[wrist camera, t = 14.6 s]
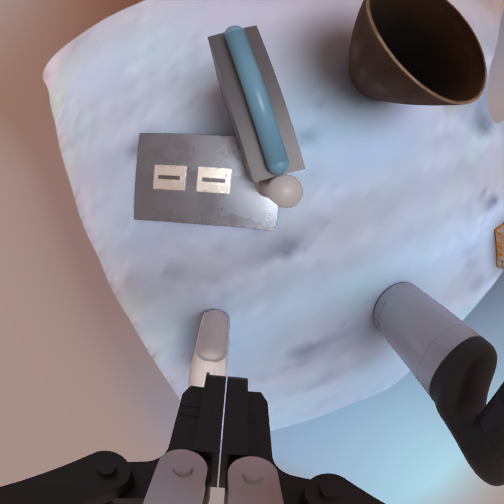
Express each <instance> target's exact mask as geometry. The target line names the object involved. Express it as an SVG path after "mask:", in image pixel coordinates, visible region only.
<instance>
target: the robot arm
mask: <svg viewBox="0 0 504 504" xmlns="http://www.w3.org/2000/svg"><path fill="white" fill-rule="evenodd" d="M373 316H374V323H375V326H376V328H377V329H378V330H379V331H380V333H381V334H382V335H383V336H384V338H385V339H386V340H387V342H388V343H389V344H390V345H391V347H392V348H393V349H394V350H395V352H396V353H397V354H398V355H399V357H400V358H401V359H402V360H403V362H404V363H405V364H406V365H407V367H408V368H409V369H410V371H411V372H412V373H413V374H414V376H415V377H416V378H417V380H418V381H419V382H420V383H421V385H422V386H423V387H424V389H425V390H426V391H427V393H428V394H429V395H430V396H431V398H432V400H433V401H434V402H435V404H436V408H437V411H438V413H439V414H440V416H441V418H442V419H443V421H444V422H445V424H446V425H447V427H448V428H449V430H450V432H451V433H452V435H453V437H454V439H455V440H456V442H457V444H458V446H459V448H460V449H461V451H462V453H463V455H464V456H465V458H466V460H467V462H468V463H469V465H470V466H471V468H472V469H473V470H474V472H475V473H476V474H477V475H478V476H479V477H480V478H481V479H482V480H483V481H484V482H486V483H488V484H490V485H494V486H501V485H504V382H503V384H502V385H501V386H500V388H499V389H498V391H497V392H496V393H495V395H494V396H493V397H492V399H491V400H490V401H489V402H488V404H487V405H486V400H487V395H488V391H489V387H490V384H491V381H492V378H493V375H494V372H495V369H496V365H497V354H496V351H495V349H494V347H493V346H492V345H491V344H490V343H489V342H488V341H487V340H485V339H484V338H483V337H482V336H480V335H479V334H478V333H477V332H476V331H474V330H473V329H471V327H469V326H468V325H466V324H465V323H464V322H463V321H461V320H460V319H459V318H458V317H456V316H455V315H454V314H453V313H451V312H450V311H449V310H448V309H446V308H445V307H444V306H442V305H441V304H440V303H438V302H437V301H436V300H434V299H433V298H432V297H430V296H429V295H427V294H426V293H425V292H423V291H422V290H420V289H419V288H418V287H416V286H415V285H413V284H411V283H408V282H402V283H398V284H395V285H393V286H392V287H390V288H388V289H387V290H386V291H385V292H384V293H383V294H382V296H381V297H380V298H379V300H378V302H377V304H376V306H375V309H374V314H373ZM225 383H226V376H219V375H210V374H206V379H205V384H204V387H198V386H190V387H189V388H188V389H187V390H186V391H185V392H184V393H183V395H182V398H181V402H180V407H179V410H178V415H177V417H176V421H175V425H174V429H173V433H172V437H171V441H170V444H169V448H168V450H167V451H166V453H165V454H164V455H163V456H162V457H160V458H158V459H156V460H153V461H148V462H127V461H126V459H124V458H123V457H122V456H121V455H119V454H117V453H114V452H111V451H99V452H96V453H93V454H91V455H88V456H86V457H84V458H82V459H79V460H77V461H74V462H72V463H69V464H67V465H65V466H62V467H59V468H57V469H54V470H51V471H49V472H46V473H43V474H40V475H37V476H34V477H31V478H29V479H25V480H22V481H19V482H16V483H12V484H9V485H5V486H2V487H0V504H208V502H209V498H210V487H217V478H218V464H219V453H220V441H221V430H222V418H223V407H224V395H225ZM270 438H271V437H270V426H269V415H268V403H267V401H266V399H265V398H264V396H263V395H262V393H261V392H248V379H247V378H240V377H229V376H228V380H227V391H226V403H225V414H224V426H223V439H222V452H221V465H220V479H219V487H222V488H225V497H224V504H385V503H383V502H381V501H380V500H378V499H376V498H374V497H373V496H371V495H370V494H368V493H366V492H365V491H363V490H362V489H360V488H358V487H357V486H355V485H353V484H352V483H351V482H349V481H348V480H346V479H345V478H343V477H341V476H339V475H336V474H321V475H318V476H315V477H314V478H312V479H311V480H310V479H305V478H300V477H296V476H292V475H289V474H287V473H285V472H283V471H281V470H280V469H279V468H278V467H277V466H276V465H275V463H274V461H273V458H272V449H271V439H270Z"/></svg>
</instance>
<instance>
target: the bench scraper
mask: <svg viewBox="0 0 504 504" xmlns="http://www.w3.org/2000/svg"><path fill="white" fill-rule="evenodd" d="M208 41H209V45H210V49H211V53H212V57H213V61H214V65H215V69H216V73H217V77H218V81H219V85H220V88H221V91H222V94H223V97H224V100H225V103H226V106H227V110H228V113H229V116H230V119H231V122H232V125H233V129H234V132H235V135H236V138H237V141H238V145H239V148H240V151H241V154H242V158H243V161H244V164H245V167H246V171H247V174H248V177H249V180H250V181H252V182H254V183H255V182H258V181H259V183H258V187H259V190H260V191H261V192H262V193H263V194H264V195H265V196H266V197H268V198H269V199H270V200H271V201H272V202H274V203H275V204H276V205H277V206H279V207H282V208H291V207H293V206H295V205H297V204H298V203H299V202H300V200H301V198H302V195H303V188H302V185H301V183H300V181H299V180H298V179H297V178H295V177H293V176H291V175H283V174H287V173H291V172H294V171H298V170H302V169H305V166H304V163H303V159H302V156H301V152H300V149H299V145H298V142H297V139H296V136H295V132H294V129H293V126H292V123H291V120H290V117H289V113H288V110H287V107H286V104H285V101H284V98H283V95H282V93H281V90H280V87H279V84H278V81H277V78H276V75H275V73H274V70H273V67H272V65H271V62H270V59H269V56H268V54H267V51H266V49H265V46H264V44H263V41H262V38H261V36H260V33H259V31H258V29H257V26H251V27H247V28H242V27H240V26H231V27H229V28H227V29H226V31H225V33H221V34H217V35H214V36H210V37H208Z"/></svg>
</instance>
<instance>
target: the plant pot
mask: <svg viewBox="0 0 504 504" xmlns="http://www.w3.org/2000/svg"><path fill="white" fill-rule="evenodd" d="M349 74H350V77H351V79H352V81H353V83H354V85H355V86H356V87H357V88H358V89H359V90H360V91H361V92H362V93H363V94H365V95H367V96H369V97H371V98H374V99H378V100H382V101H387V102H393V103H400V104H410V105H464V104H469V103H472V102H474V101H475V100H477V99H478V98H479V97H480V96H481V94H482V92H483V90H484V88H485V84H486V77H487V71H486V62H485V58H484V54H483V51H482V48H481V46H480V43H479V41H478V39H477V37H476V35H475V33H474V32H473V30H472V28H471V27H470V25H469V24H468V22H467V21H466V20H465V18H464V17H463V16H462V15H461V13H460V12H459V11H458V10H457V9H456V8H455V7H454V6H453V5H452V4H451V3H450V2H449V1H448V0H364V1H363V3H362V5H361V8H360V10H359V13H358V16H357V19H356V22H355V26H354V29H353V33H352V38H351V43H350V51H349Z"/></svg>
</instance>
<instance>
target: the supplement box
mask: <svg viewBox="0 0 504 504" xmlns="http://www.w3.org/2000/svg"><path fill="white" fill-rule="evenodd" d="M495 237H496V248H497V267H499V268H501V269H502V270H504V224H502V225H501V226H499V227H498V228H497V229H495Z"/></svg>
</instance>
